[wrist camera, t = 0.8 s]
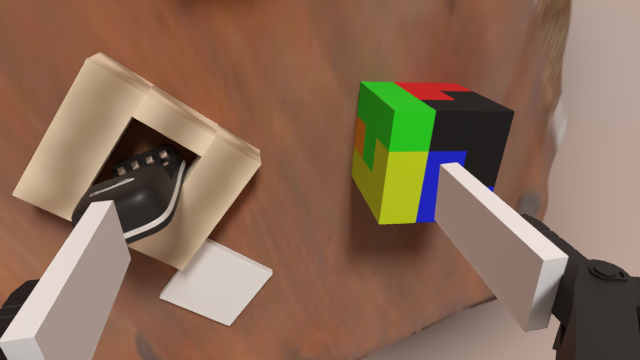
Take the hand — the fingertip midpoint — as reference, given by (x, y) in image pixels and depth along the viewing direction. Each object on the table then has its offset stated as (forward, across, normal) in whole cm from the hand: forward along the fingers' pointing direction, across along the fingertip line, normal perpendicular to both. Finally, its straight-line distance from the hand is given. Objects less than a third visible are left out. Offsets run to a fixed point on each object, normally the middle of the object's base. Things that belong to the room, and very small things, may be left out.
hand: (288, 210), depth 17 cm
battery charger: (+24, -12, -7) cm, 27 cm away
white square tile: (+24, -7, -22) cm, 33 cm away
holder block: (+24, -12, -7) cm, 27 cm away
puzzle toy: (+24, +14, -6) cm, 28 cm away
